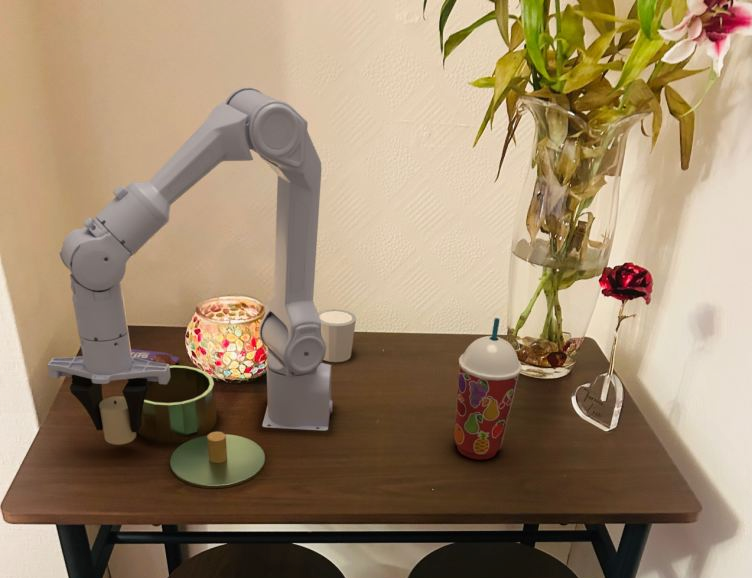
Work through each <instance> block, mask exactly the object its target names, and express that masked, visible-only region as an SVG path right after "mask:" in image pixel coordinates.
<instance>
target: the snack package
mask: <svg viewBox="0 0 752 578" xmlns="http://www.w3.org/2000/svg"><path fill="white" fill-rule="evenodd" d="M131 354H132V357H135V358H139V359H144V360H148V361H152V362H157V363H163V364H169V366H175V365H176V364H177V363H178V361H179V360H180V357H179V356H175V355H173V354H170V353H167V352H163V351H155V350H154V351H152V350H144V349H136V348H131Z"/></svg>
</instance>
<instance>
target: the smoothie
mask: <svg viewBox="0 0 752 578" xmlns="http://www.w3.org/2000/svg"><path fill="white" fill-rule="evenodd" d="M500 321H501V320H500V318H499V317H494V320H493V326H492V331H491V332H492V333H491V335H487V336H482V337H478V338H477V339H475V340H473V341H472V342H471V343H470V344H469V345H468V346H467V348H466V349H465V351H464V352H463V353H462V354H461V355H460V356H459V358H458V372H457V373H458V374H457V389H456V406H455V419H454V420H455V421H454V436H453V439H454V443H455V445H456V448H457V451H458V452H459V454H461V455H462V456H465V457H467V458H469V459H472V460H480V461H482V460H489V459H492V458H494V457H495V456H496V455H497V453H498V451H500V450H501V448H502V446H503V442H504V438H505V434H506V431H507V426H508V422H509V418H510V415H511V411H512V406H513V404H514V398H515V394H516V390H517V386H518V382H519V379H520V373H521V371H522V368H523V367H522V363H521V362H520V360H519V357H518V354H517V351H516V350H515V347H513V345H512V344H511V343H510V342H508V341H507V340H506V339H504V338H502V337H499V336H498V332H499V325H500Z"/></svg>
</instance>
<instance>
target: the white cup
mask: <svg viewBox="0 0 752 578" xmlns="http://www.w3.org/2000/svg"><path fill="white" fill-rule="evenodd" d="M317 313H318V315H319V318H320V320H321V334H322V337H323V340H324V342H325V345H326V353H325V357H324V359H323V361H326V362H329V363H343V362H346V361H348V360H349V359H351V356H352V351H353V343H354V336H355V330H356V321H357V317H356V316H355V314H354V313H352V312H350V311H347V310H343V309H326V310H325V309H324V310H322V311H319V312H317Z"/></svg>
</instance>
